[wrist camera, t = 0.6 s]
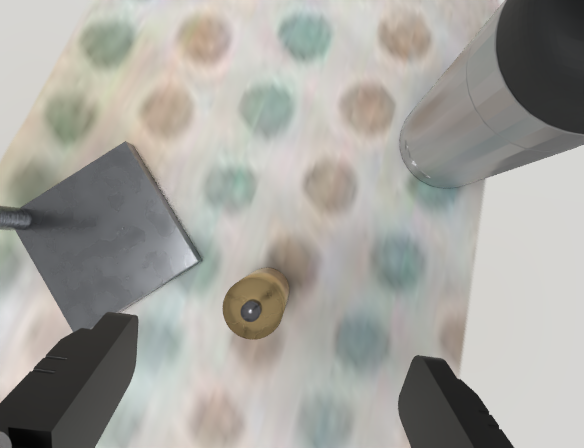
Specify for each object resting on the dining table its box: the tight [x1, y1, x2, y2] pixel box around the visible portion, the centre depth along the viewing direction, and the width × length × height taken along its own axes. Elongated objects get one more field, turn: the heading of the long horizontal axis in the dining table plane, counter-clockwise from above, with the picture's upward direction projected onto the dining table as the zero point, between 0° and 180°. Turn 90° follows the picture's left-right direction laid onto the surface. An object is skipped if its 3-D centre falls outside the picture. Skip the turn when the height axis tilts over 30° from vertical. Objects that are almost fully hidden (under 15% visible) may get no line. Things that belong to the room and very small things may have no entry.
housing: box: [223, 268, 289, 339], centre depth 29 cm, size 4×4×10 cm
